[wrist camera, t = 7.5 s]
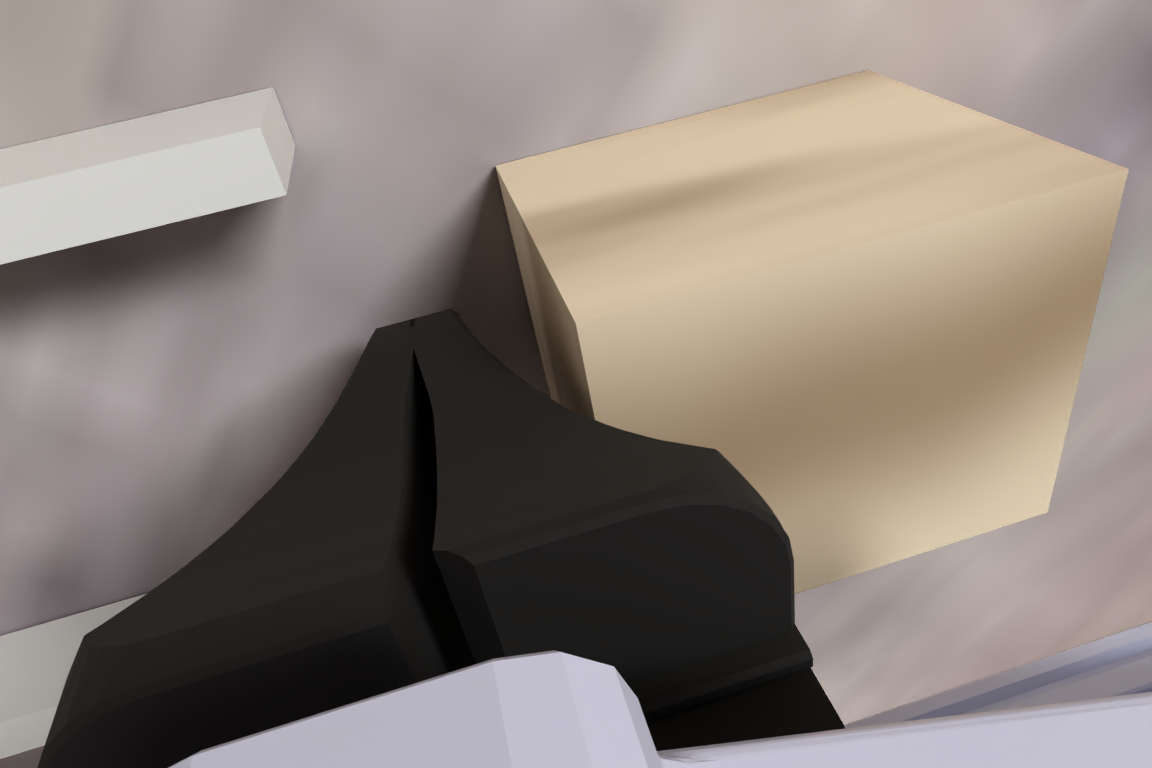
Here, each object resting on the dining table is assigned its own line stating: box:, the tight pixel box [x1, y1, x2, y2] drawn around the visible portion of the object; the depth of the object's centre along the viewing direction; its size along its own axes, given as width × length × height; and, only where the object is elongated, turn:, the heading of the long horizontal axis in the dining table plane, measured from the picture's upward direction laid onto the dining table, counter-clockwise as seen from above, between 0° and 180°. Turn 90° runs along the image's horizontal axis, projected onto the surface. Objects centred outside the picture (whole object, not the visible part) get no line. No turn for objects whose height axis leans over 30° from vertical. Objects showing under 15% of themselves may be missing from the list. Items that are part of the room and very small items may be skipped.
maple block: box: [495, 71, 1129, 594], centre depth 11 cm, size 5×6×5 cm
